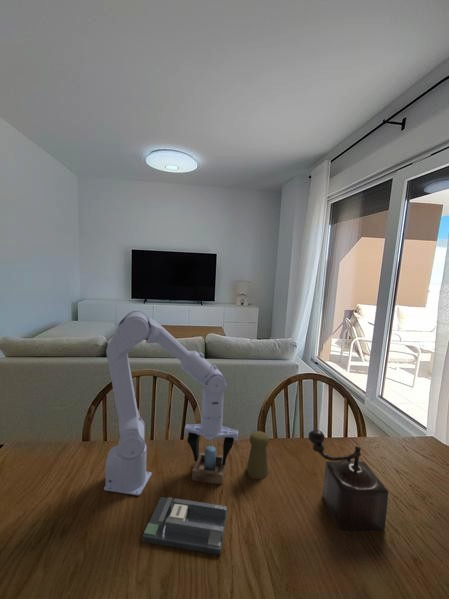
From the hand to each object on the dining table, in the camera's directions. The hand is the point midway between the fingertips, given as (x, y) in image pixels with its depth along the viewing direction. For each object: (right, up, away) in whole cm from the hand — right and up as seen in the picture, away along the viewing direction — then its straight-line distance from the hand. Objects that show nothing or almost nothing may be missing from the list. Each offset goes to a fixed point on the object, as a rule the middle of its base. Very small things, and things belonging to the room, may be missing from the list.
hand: (210, 460), depth 81 cm
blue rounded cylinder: (0, -3, 0) cm, 3 cm away
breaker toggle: (-6, -3, -17) cm, 18 cm away
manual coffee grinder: (+32, -6, -11) cm, 34 cm away
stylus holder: (0, -3, 0) cm, 3 cm away
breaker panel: (-4, -5, -17) cm, 18 cm away
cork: (+13, -4, +2) cm, 14 cm away
